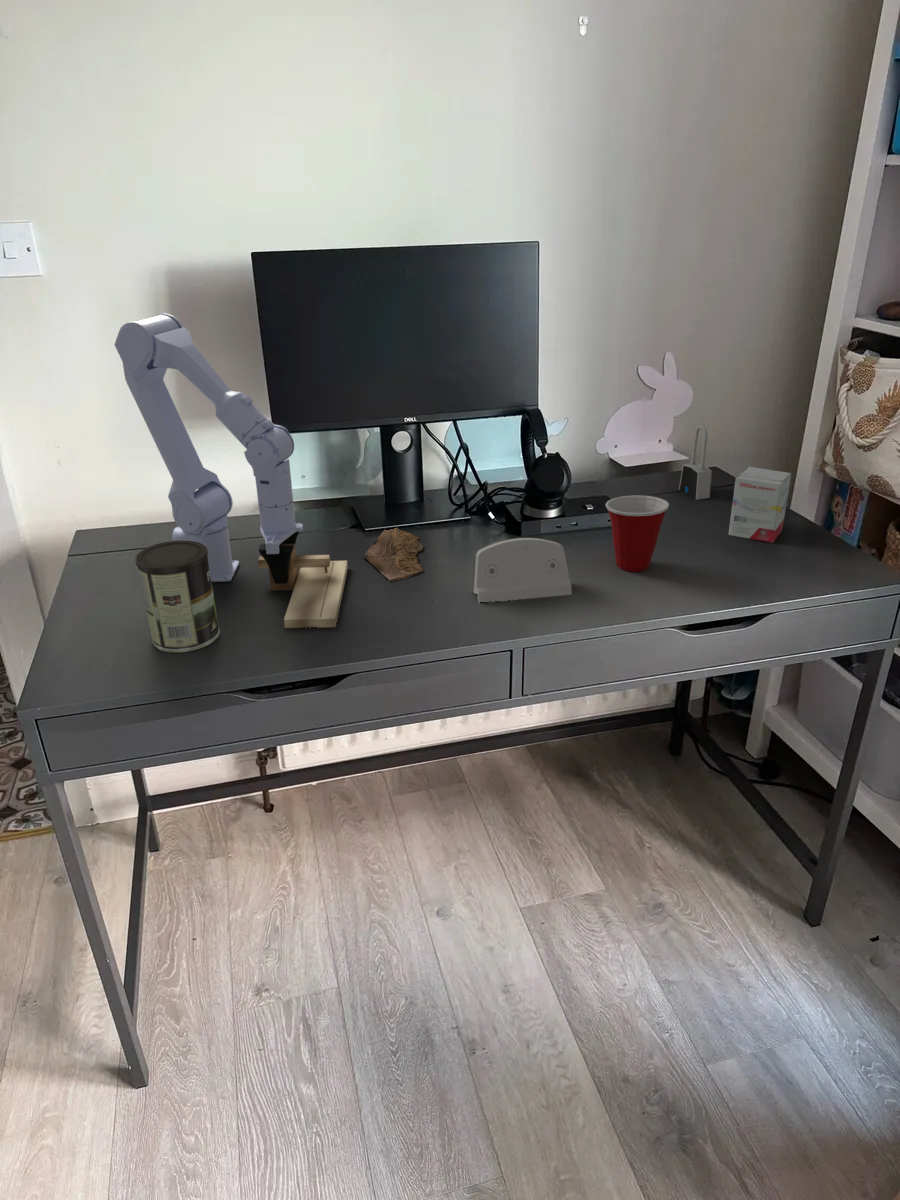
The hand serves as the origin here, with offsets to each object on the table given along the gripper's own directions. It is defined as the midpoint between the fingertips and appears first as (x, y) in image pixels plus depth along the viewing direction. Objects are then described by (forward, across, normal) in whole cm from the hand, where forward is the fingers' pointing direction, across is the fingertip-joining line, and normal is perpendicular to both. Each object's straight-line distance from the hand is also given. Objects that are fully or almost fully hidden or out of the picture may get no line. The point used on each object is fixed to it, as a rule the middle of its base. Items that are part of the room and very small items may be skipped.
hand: (284, 575), depth 149 cm
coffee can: (+2, -18, +13) cm, 22 cm away
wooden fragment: (+2, +13, -18) cm, 23 cm away
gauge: (+2, 0, -2) cm, 3 cm away
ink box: (+2, +19, -88) cm, 90 cm away
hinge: (+2, -4, -41) cm, 41 cm away
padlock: (+2, +41, -82) cm, 92 cm away
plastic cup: (+2, +5, -61) cm, 62 cm away
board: (+2, -5, -6) cm, 8 cm away
